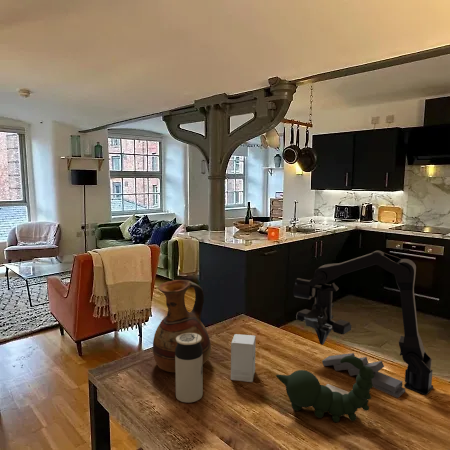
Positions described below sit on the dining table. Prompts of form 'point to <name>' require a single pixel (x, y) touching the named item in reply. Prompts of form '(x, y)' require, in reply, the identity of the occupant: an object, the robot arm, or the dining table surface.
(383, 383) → the grey block
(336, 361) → the tile
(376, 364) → the tile
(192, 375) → the travel mug
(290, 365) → the dining table surface
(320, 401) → the toy figurine
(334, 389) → the tile
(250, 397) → the dining table surface
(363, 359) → the tile
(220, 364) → the dining table surface
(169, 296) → the ceramic pitcher
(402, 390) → the tile
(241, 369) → the supplement box
